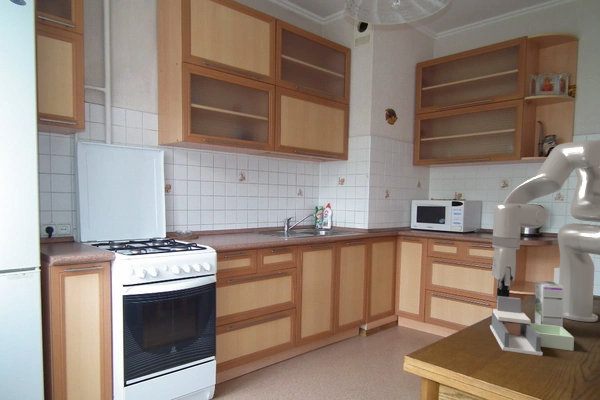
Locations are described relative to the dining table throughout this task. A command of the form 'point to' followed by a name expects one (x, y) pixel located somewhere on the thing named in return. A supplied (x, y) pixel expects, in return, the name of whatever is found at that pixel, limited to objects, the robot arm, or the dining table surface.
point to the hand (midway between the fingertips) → (502, 301)
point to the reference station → (516, 336)
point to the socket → (554, 336)
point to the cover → (510, 310)
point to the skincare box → (556, 275)
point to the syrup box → (548, 303)
